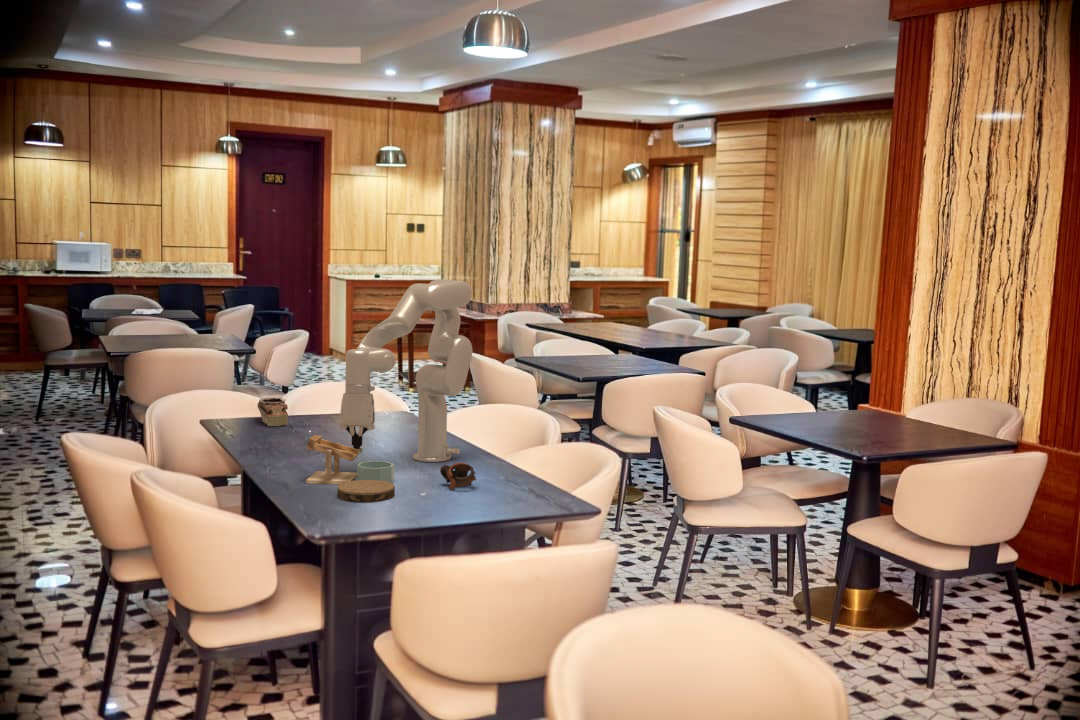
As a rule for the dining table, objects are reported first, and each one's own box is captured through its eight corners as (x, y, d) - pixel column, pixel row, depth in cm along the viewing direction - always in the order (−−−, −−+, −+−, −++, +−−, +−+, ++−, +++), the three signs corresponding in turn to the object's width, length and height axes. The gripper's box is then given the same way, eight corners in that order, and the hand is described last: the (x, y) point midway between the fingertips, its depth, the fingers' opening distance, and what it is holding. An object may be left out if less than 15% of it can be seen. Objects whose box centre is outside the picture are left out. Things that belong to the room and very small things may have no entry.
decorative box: (253, 428, 383) (253, 403, 382) (249, 419, 402) (249, 395, 401) (288, 427, 388) (288, 402, 387) (283, 418, 406) (283, 395, 405)
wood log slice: (370, 506, 273) (370, 495, 272) (325, 498, 280) (325, 487, 280) (405, 494, 286) (406, 484, 286) (362, 487, 294) (362, 477, 294)
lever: (362, 452, 312) (365, 442, 312) (351, 462, 297) (353, 452, 296) (319, 439, 313) (322, 429, 312) (305, 449, 297) (308, 439, 296)
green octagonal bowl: (395, 477, 306) (395, 461, 306) (389, 485, 296) (389, 468, 295) (362, 476, 307) (362, 460, 306) (354, 484, 296) (354, 467, 296)
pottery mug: (481, 486, 300) (482, 466, 295) (465, 505, 293) (466, 485, 288) (446, 472, 304) (447, 452, 299) (430, 491, 297) (430, 470, 292)
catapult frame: (358, 475, 308) (358, 443, 306) (349, 484, 296) (349, 451, 295) (316, 474, 308) (316, 442, 307) (305, 483, 296) (305, 449, 295)
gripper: (384, 388, 312) (383, 446, 314) (336, 387, 313) (336, 445, 315) (379, 391, 305) (378, 451, 306) (330, 390, 305) (330, 449, 307)
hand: (356, 448), depth 311 cm, fingers closed
